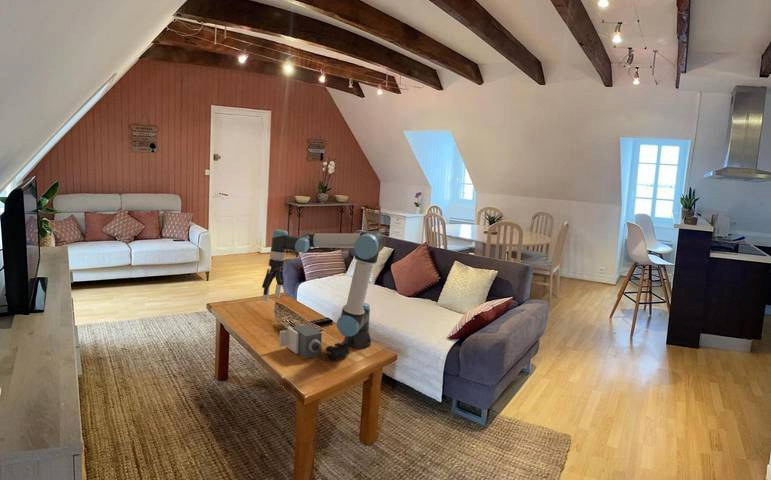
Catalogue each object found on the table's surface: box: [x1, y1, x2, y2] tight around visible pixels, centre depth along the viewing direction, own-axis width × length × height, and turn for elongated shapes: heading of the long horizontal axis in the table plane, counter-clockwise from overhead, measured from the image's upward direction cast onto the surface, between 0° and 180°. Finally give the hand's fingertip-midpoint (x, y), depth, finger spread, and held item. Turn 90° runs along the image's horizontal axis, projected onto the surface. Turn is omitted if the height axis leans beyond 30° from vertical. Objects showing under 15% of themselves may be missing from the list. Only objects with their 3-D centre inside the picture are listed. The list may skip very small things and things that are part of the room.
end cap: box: [325, 342, 350, 362], centre depth 248 cm, size 10×7×7 cm
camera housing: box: [292, 324, 323, 360], centre depth 251 cm, size 9×16×12 cm, turn 38°
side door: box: [278, 326, 299, 354], centre depth 252 cm, size 6×10×11 cm, turn 38°
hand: (271, 298), depth 259 cm, fingers open, 13 cm apart
